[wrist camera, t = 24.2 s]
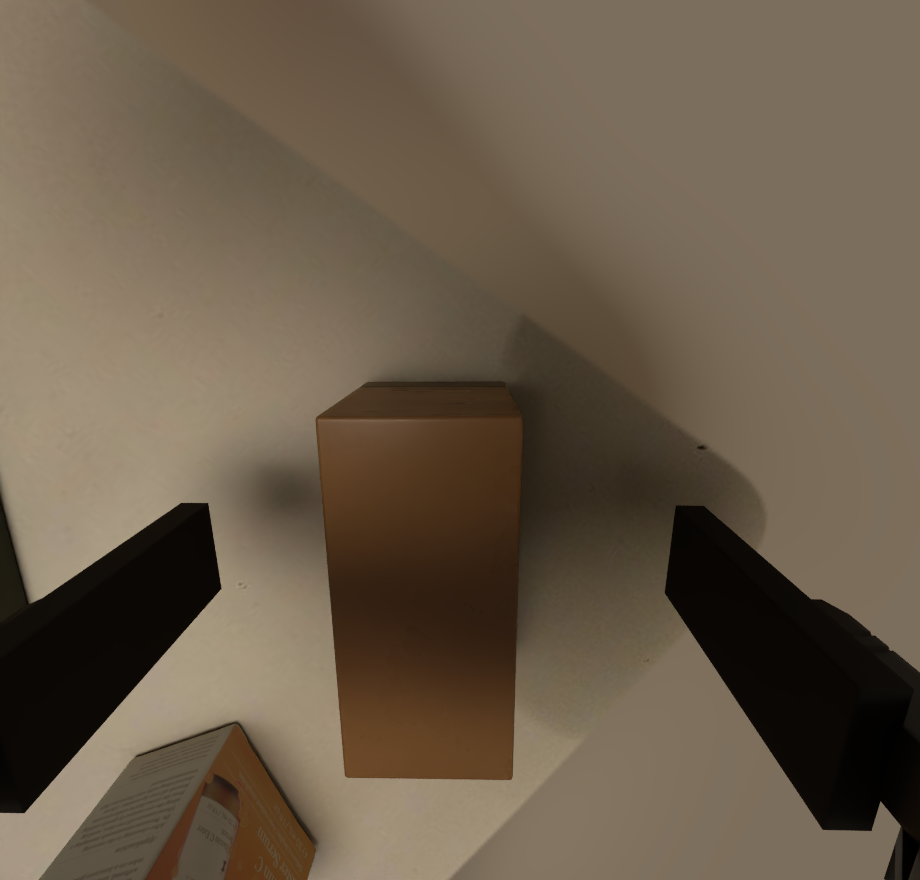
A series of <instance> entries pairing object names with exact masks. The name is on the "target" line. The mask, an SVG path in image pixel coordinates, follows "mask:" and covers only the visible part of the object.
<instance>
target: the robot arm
mask: <svg viewBox="0 0 920 880" xmlns="http://www.w3.org/2000/svg"><path fill="white" fill-rule="evenodd" d="M220 590H221V583H220V577H219V570H218V564H217V557H216V551H215V544H214V538H213V532H212V525H211V519H210V512H209V506H208V503H181V504H179V505H178V506H176V507H175V508H173V509H172V510H170V511H169V512H168V513H166V514H165V515H163V516H162V517H160V518H159V519H157V520H156V521H154V522H153V523H152V524H150V525H149V526H147V527H146V528H144V529H143V530H141V531H140V532H138V533H137V534H135V535H134V536H133V537H131V538H130V539H128V540H127V541H125V542H124V543H122V544H121V545H119V546H118V547H117V548H115V549H114V550H112V551H111V552H109V553H108V554H106V555H105V556H103V557H102V558H101V559H99V560H98V561H96V562H95V563H93V564H92V565H90V566H89V567H87V568H86V569H85V570H83V571H82V572H80V573H79V574H77V575H76V576H74V577H73V578H71V579H70V580H68V581H67V582H66V583H64V584H63V585H61V586H60V587H58V588H57V589H55V590H54V591H52V592H51V593H50V594H48V595H47V596H45V597H44V598H42V599H40V600H37V601H35V602H33V603H31V604H29V605H27V606H25V607H22V608H21V609H19V610H18V611H17V612H15V613H14V614H12V615H11V616H9V617H8V618H6V619H5V620H3V621H2V622H0V813H25V812H26V811H27V809H28V808H29V807H30V806H31V805H32V804H33V803H34V801H35V800H36V799H37V798H38V797H39V796H40V795H41V793H42V792H43V791H44V790H45V789H46V788H47V787H48V786H49V784H50V783H51V782H52V781H53V780H54V779H55V778H56V776H57V775H58V774H59V773H60V772H61V771H62V770H63V768H64V767H65V766H66V765H67V764H68V763H69V762H70V760H71V759H72V758H73V757H74V756H75V755H76V754H77V753H78V751H79V750H80V749H81V748H82V747H83V746H84V745H85V743H86V742H87V741H88V740H89V739H90V738H91V737H92V735H93V734H94V733H95V732H96V731H97V730H98V729H99V727H100V726H101V725H102V724H103V723H104V722H105V721H106V719H107V718H108V717H109V716H110V715H111V714H112V713H113V712H114V710H115V709H116V708H117V707H118V706H119V705H120V704H121V702H122V701H123V700H124V699H125V698H126V697H127V696H128V694H129V693H130V692H131V691H132V690H133V689H134V688H135V686H136V685H137V684H138V683H139V682H140V681H141V680H142V679H143V677H144V676H145V675H146V674H147V673H148V672H149V671H150V669H151V668H152V667H153V666H154V665H155V664H156V663H157V661H158V660H159V659H160V658H161V657H162V656H163V655H164V653H165V652H166V651H167V650H168V649H169V648H170V647H171V645H172V644H173V643H174V642H175V641H176V640H177V639H178V638H179V636H180V635H181V634H182V633H183V632H184V631H185V630H186V628H187V627H188V626H189V625H190V624H191V623H192V622H193V620H194V619H195V618H196V617H197V616H198V615H199V614H200V612H201V611H202V610H203V609H204V608H205V607H206V606H207V605H208V603H209V602H210V601H211V600H212V599H213V598H214V597H215V595H216V594H217V593H218V592H219V591H220ZM665 594H666V596H667V597H668V599H669V600H670V602H671V603H672V605H673V606H674V607H675V609H676V610H677V612H678V613H679V615H680V616H681V618H682V619H683V621H684V622H685V624H686V625H687V627H688V628H689V630H690V631H691V633H692V634H693V636H694V637H695V639H696V640H697V642H698V643H699V645H700V646H701V648H702V649H703V651H704V652H705V654H706V655H707V657H708V658H709V660H710V661H711V663H712V664H713V666H714V667H715V669H716V670H717V672H718V673H719V675H720V676H721V678H722V679H723V681H724V682H725V684H726V685H727V687H728V688H729V690H730V691H731V693H732V694H733V696H734V697H735V699H736V700H737V702H738V703H739V705H740V706H741V708H742V709H743V711H744V712H745V714H746V715H747V717H748V718H749V720H750V721H751V723H752V724H753V726H754V727H755V729H756V730H757V732H758V733H759V735H760V736H761V738H762V739H763V741H764V742H765V744H766V745H767V747H768V748H769V750H770V751H771V753H772V754H773V756H774V757H775V759H776V760H777V762H778V763H779V765H780V766H781V768H782V769H783V771H784V772H785V774H786V775H787V777H788V778H789V780H790V781H791V783H792V784H793V786H794V787H795V789H796V790H797V792H798V793H799V795H800V796H801V798H802V799H803V800H804V802H805V804H806V805H807V807H808V808H809V810H810V811H811V813H812V814H813V816H814V817H815V819H816V820H817V822H818V823H819V825H820V826H821V828H822V829H823V830H855V831H856V830H857V831H872V827H873V824H874V820H875V817H876V814H877V811H878V807H879V804H880V801H881V802H882V803H883V804H884V806H885V807H886V808H887V809H888V810H889V812H890V813H891V814H892V815H893V817H894V818H895V819H896V820H897V821H898V823H899V824H900V825H901V828H900V831H899V834H898V837H897V840H896V843H895V846H894V850H893V853H892V856H891V859H890V862H889V865H888V868H887V871H886V874H885V877H884V879H885V880H920V672H918V671H917V670H916V669H915V668H914V667H912V666H911V665H910V664H909V663H908V662H906V661H905V660H904V659H903V658H901V657H900V656H899V655H898V654H897V653H895V652H894V651H890V650H889V647H888V646H887V645H886V644H884V643H883V642H882V641H881V640H880V639H878V638H877V637H876V636H872V635H871V633H870V631H868V630H867V629H866V628H865V627H864V626H863V625H861V624H860V623H859V622H858V621H857V620H855V619H854V618H853V617H852V616H850V615H849V614H847V613H845V612H843V611H842V610H840V609H838V608H836V607H834V606H832V605H831V604H829V603H827V602H825V601H823V600H814V599H810V598H809V597H807V595H805V594H804V593H803V592H802V591H801V590H799V588H797V587H796V586H795V585H794V584H793V583H792V582H790V581H789V580H788V579H787V578H786V577H785V576H784V575H783V574H781V573H780V572H779V571H778V570H777V569H776V568H774V567H773V566H772V565H771V564H770V563H768V561H766V560H765V559H764V558H763V557H762V556H761V555H760V554H758V553H757V552H756V551H755V550H754V549H753V548H752V547H750V546H749V545H748V544H747V543H746V542H745V541H744V540H742V539H741V538H740V537H739V536H738V535H737V534H735V533H734V532H733V531H732V530H731V529H730V528H729V527H727V526H726V525H725V524H724V523H723V522H722V521H721V520H719V519H718V518H717V517H716V516H715V515H714V514H713V513H711V512H710V511H709V510H708V509H707V508H706V507H704V506H676V508H675V516H674V523H673V531H672V539H671V547H670V555H669V563H668V571H667V579H666V587H665Z"/></svg>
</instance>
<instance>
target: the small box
mask: <svg viewBox="0 0 920 880" xmlns="http://www.w3.org/2000/svg"><path fill="white" fill-rule="evenodd" d="M315 852H316V849H315V846H314V845H313V843H312V842H311V841H310V839H309V838H308V836H307V835H306V834H305V832H304V831H303V829H302V828H301V827H300V825H299V824H298V822H297V821H296V819H295V818H294V816H293V814H292V813H291V811H290V809H289V808H288V806H287V805H286V803H285V802H284V800H283V798H282V797H281V795H280V793H279V792H278V790H277V789H276V787H275V785H274V784H273V782H272V780H271V779H270V777H269V775H268V774H267V772H266V771H265V769H264V767H263V766H262V764H261V763H260V761H259V759H258V758H257V756H256V755H255V753H254V751H253V750H252V748H251V747H250V745H249V743H248V741H247V738H246V736H245V734H244V733H243V731H242V729H241V728H240V726H239V725H238V724H233V725H230V726H227V727H224V728H221V729H219V730H216V731H213V732H210V733H207V734H204V735H201V736H198V737H195V738H192V739H189V740H186V741H183V742H180V743H177V744H174V745H172V746H169V747H166V748H163V749H160V750H157V751H154V752H151V753H148V754H145V755H142V756H139V757H136V758H134V759H133V760H131V761H130V763H129V764H128V765H127V767H126V768H125V769H124V771H123V772H122V773H121V774H120V776H119V777H118V778H117V780H116V781H115V782H114V783H113V785H112V786H111V787H110V789H109V790H108V791H107V793H106V794H105V795H104V796H103V798H102V799H101V800H100V802H99V803H98V804H97V806H96V807H95V808H94V809H93V811H92V812H91V813H90V815H89V816H88V817H87V818H86V820H85V821H84V822H83V824H82V825H81V826H80V827H79V829H78V830H77V831H76V832H75V834H74V835H73V836H72V838H71V839H70V840H69V842H68V843H67V844H66V846H65V847H64V848H63V849H62V851H61V852H60V853H59V854H58V856H57V857H56V858H55V860H54V861H53V862H52V864H51V865H50V866H49V867H48V869H47V870H46V871H45V873H44V874H43V875H42V876H41V878H40V879H39V880H307V879H308V876H309V873H310V869H311V866H312V863H313V859H314V856H315Z"/></svg>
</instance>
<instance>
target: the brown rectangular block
mask: <svg viewBox="0 0 920 880" xmlns="http://www.w3.org/2000/svg"><path fill="white" fill-rule="evenodd" d="M316 432H317V444H318V456H319V468H320V480H321V492H322V504H323V516H324V528H325V540H326V553H327V565H328V577H329V589H330V601H331V613H332V625H333V637H334V649H335V661H336V673H337V686H338V698H339V710H340V722H341V734H342V746H343V758H344V770H345V776H346V777H347V778H413V779H483V780H510V779H512V776H513V743H514V709H515V674H516V640H517V606H518V571H519V537H520V503H521V468H522V434H523V419H522V416H521V414H520V412H519V410H518V408H517V406H516V404H515V402H514V400H513V398H512V396H511V394H510V392H509V390H508V388H507V386H506V384H505V383H504V382H367V383H365V384H364V385H362V386H361V387H360V388H358V389H357V390H355V391H354V392H352V393H351V394H349V395H348V396H346V397H345V398H344V399H342V400H341V401H339V402H338V403H336V404H335V405H333V406H332V407H330V408H329V409H328V410H326V411H325V412H323V413H322V414H320V415H319V416H317V417H316Z"/></svg>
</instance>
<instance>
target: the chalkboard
mask: <svg viewBox="0 0 920 880" xmlns="http://www.w3.org/2000/svg"><path fill="white" fill-rule="evenodd" d="M25 606H27V603H26V599H25V595H24V591H23V587H22V584H21V580H20V576H19V572H18V568H17V564H16V561H15V557H14V553H13V549H12V545H11V542H10V538H9V534H8V530H7V526H6V522H5V519H4V515H3V511H2V507H1V503H0V622H2V621H3V620H5V619H6V618H8V617H9V616H11V615H12V614H14V613H15V612H17V611H18V610H19V609H21V608H22V607H25Z"/></svg>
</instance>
